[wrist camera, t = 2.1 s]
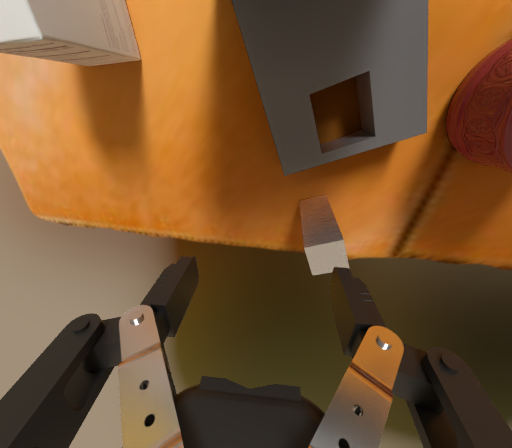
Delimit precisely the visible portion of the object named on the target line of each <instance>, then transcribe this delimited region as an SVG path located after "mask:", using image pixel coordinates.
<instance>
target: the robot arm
mask: <svg viewBox="0 0 512 448" xmlns="http://www.w3.org/2000/svg"><path fill="white" fill-rule="evenodd" d="M198 279H199V275H198V269H197V262H196V258H195V257H194V256H181V257H180V259H179V260H178V262H177V263H176V264H171V265H170V266H168V267H167V268H166V269H164V271H163V272H162V274H161V275H160V277H159V278H158V279H157V281H156V283H155V284H154V285H153V287H152V288H151V290H150V291H149V292H148V294H147V295H146V297H145V298H144V300H143V301H142V303H141V304H140V305H138V306H135V307H133V308H131V309H129V310H127V311H126V312H125V313H124V314H123V315H122V317H118V318H112V319H107V320H102V321H101V319H100V317H99V316H98V315H97V314H86V315H82V316H80V317H78V318H76V319H74V320H73V321H71V322H70V323H69V324H68V325H67V326H66V327H65V328H64V329H63V330H62V331H61V333H60V334H59V335H58V336H57V337H56V338H55V339H54V340H53V342H52V343H51V344H50V345H49V346H48V347H47V348H46V349H45V351H44V352H43V353H42V354H41V355H40V356H39V357H38V358H37V360H36V361H35V362H34V363H33V364H32V365H31V367H30V368H28V370H27V371H26V372H25V373H24V374H23V375H22V376H21V377H20V379H19V380H18V381H17V382H16V383H15V384H14V385H13V386H12V388H11V389H10V390H9V391H8V392H7V393H6V394H5V396H4V397H3V398H2V399H1V400H0V448H69V446H70V444H71V442H72V440H73V439H74V437H75V435H76V433H77V432H78V430H79V428H80V426H81V425H82V423H83V421H84V419H85V418H86V416H87V414H88V412H89V411H90V409H91V407H92V405H93V404H94V402H95V400H96V398H97V397H98V395H99V393H100V391H101V389H102V388H103V386H104V384H105V382H106V381H107V379H108V377H109V375H110V374H111V372H112V370H113V368H114V367H115V366H118V375H119V391H120V407H121V424H122V441H123V447H122V448H378V446H379V443H380V439H381V436H382V432H383V429H384V426H385V422H386V419H387V416H388V412H389V409H390V405H391V402H392V398H393V394H394V395H396V396H398V397H400V398H402V399H405V400H406V402H407V405H408V407H409V410H410V412H411V415H412V418H413V421H414V423H415V426H416V428H417V431H418V434H419V436H420V439H421V442H422V444H423V447H424V448H512V431H511V429H510V428H509V426H508V425H507V423H506V422H505V420H504V419H503V417H502V416H501V414H500V413H499V411H498V410H497V408H496V407H495V405H494V404H493V402H492V401H491V400H490V398H489V396H488V395H487V393H486V392H485V390H484V389H483V388H482V386H481V384H480V383H479V381H478V380H477V378H476V377H475V375H474V374H473V372H472V371H471V369H470V368H469V367H468V365H467V364H466V363H465V362H464V361H463V360H462V359H461V358H460V357H458V356H457V355H456V354H454V353H453V352H451V351H449V350H447V349H444V348H441V347H432V348H430V349H429V350H428V352H425V351H422V350H419V349H416V348H414V347H411V346H408V345H406V344H404V343H402V341H401V340H400V338H399V337H398V336H397V335H396V334H395V333H393V332H392V331H391V330H389V329H387V328H386V326H385V324H384V322H383V320H382V318H381V316H380V314H379V312H378V309H377V307H376V305H375V303H374V302H373V299H372V297H371V296H370V293H369V291H368V289H367V287H366V285H365V284H364V283H363V282H362V281H361V280H360V279H359V278H353V276H352V274H351V271H350V269H349V268H343V267H334V268H333V272H332V276H331V280H330V284H329V288H328V295H329V299H330V304H331V308H332V311H333V315H334V319H335V323H336V327H337V330H338V334H339V338H340V342H341V346H342V350H343V353H344V355H350V356H352V358H353V360H352V362H351V364H350V365H349V367H348V369H347V371H346V373H345V375H344V377H343V379H342V381H341V383H340V385H339V387H338V389H337V391H336V393H335V395H334V397H333V399H332V401H331V403H330V405H329V407H328V409H327V411H326V413H324V412H323V411H322V410H321V409H320V408H319V407H318V406H317V405H316V404H314V403H313V402H312V401H310V400H309V399H307V398H305V397H303V396H301V395H300V387H296V386H287V385H278V384H274V385H268V386H263V387H258V388H253V389H248V388H246V387H243V386H241V385H239V384H237V383H234V382H232V381H230V380H228V379H225V378H215V377H206V376H202V379H201V383H200V384H198V385H194V386H191V387H189V388H187V389H185V390H183V391H182V392H180V393H179V394H177V392H176V389H175V385H174V382H173V379H172V375H171V371H170V367H169V363H168V359H167V355H166V351H165V347H164V341H165V339H166V337H175V335H176V333H177V330H178V328H179V326H180V324H181V321H182V319H183V317H184V315H185V312H186V310H187V308H188V306H189V303H190V301H191V299H192V297H193V295H194V292H195V290H196V288H197V285H198Z"/></svg>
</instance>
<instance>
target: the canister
mask: <svg viewBox="0 0 512 448" xmlns="http://www.w3.org/2000/svg"><path fill="white" fill-rule="evenodd" d="M446 129H447V135H448V138H449V141H450V143H451V144H452V146H453V147H454V148H455V149H456V150H457V151H458V152H459V153H460V154H462V155H463V156H464V157H465V158H467V159H469V160H471V161H473V162H476V163H479V164H482V165H486V166H494V167H497V168H500V169H503V170H506V171H509V172H512V39H511V40H509V41H507V42H505V43H504V44H502V45H501V46H499V47H498V48H496V49H495V50H493V51H492V52H491V53H489V54H488V55H487V56H486V57H485V58H483V59H482V60H481V61H480V62H479V63H478V64H477V65H476V66H475V67H474V68H473V69H472V70H471V72H470V73H469V74H468V75H467V76H466V78H465V79H464V80H463V82H462V83H461V85H460V86H459V88H458V90H457V91H456V93H455V95H454V97H453V99H452V101H451V104H450V107H449V110H448V114H447V121H446Z"/></svg>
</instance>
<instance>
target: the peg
mask: <svg viewBox="0 0 512 448" xmlns="http://www.w3.org/2000/svg"><path fill="white" fill-rule="evenodd" d="M299 204H300V214H301V223H302V233H303V243H304V250H305V253H306V256H307V259H308V262H309V266H310V269H311V272H312V275H318V274H324V273H330V272H333V268H334V267H343V268H349V264H348V259H347V254H346V249H345V244H344V240H343V237H342V234H341V232H340V229H339V227H338V224H337V222H336V219H335V216H334V214H333V211H332V209H331V206H330V203H329V201H328V198H327V196H326V194H324V195H321V196H317V197H313V198H309V199H306V200H302V201H299Z"/></svg>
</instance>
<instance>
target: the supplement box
mask: <svg viewBox="0 0 512 448" xmlns="http://www.w3.org/2000/svg"><path fill="white" fill-rule="evenodd" d="M0 53H6V54H12V55H19V56H27V57H34V58H40V59H47V60H53V61H59V62H65V63H71V64H77V65H84V66H96V65H104V64H113V63H122V62H130V61H138V60H141V57H140V53H139V50H138V46H137V42H136V39H135V35H134V31H133V27H132V24H131V20H130V16H129V13H128V9H127V5H126V2H125V0H0Z"/></svg>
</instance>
